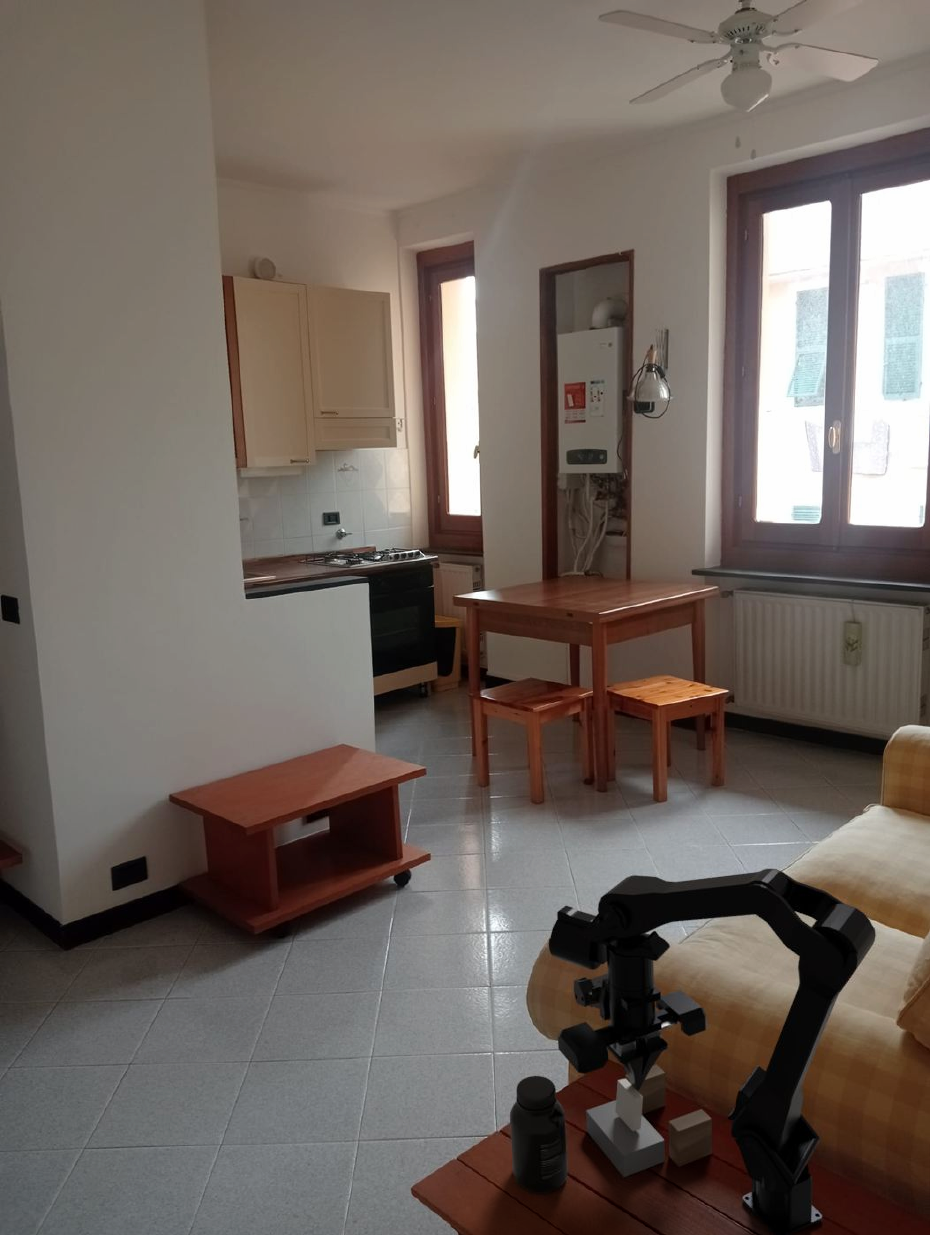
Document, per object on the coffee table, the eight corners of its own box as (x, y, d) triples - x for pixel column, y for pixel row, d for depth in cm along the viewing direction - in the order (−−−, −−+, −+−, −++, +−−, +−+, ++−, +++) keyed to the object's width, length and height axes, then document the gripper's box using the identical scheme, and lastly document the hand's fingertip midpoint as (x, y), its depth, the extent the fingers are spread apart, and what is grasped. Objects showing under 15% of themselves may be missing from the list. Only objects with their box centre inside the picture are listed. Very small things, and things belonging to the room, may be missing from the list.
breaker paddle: (640, 1128, 120) (643, 1096, 119) (632, 1131, 120) (634, 1098, 119) (623, 1109, 124) (625, 1078, 123) (615, 1111, 123) (617, 1080, 123)
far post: (665, 1105, 129) (664, 1072, 128) (634, 1117, 127) (633, 1083, 126) (656, 1096, 131) (656, 1064, 130) (625, 1108, 129) (625, 1074, 128)
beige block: (711, 1153, 120) (711, 1118, 119) (678, 1167, 118) (678, 1131, 117) (701, 1143, 122) (701, 1108, 121) (669, 1156, 120) (668, 1121, 119)
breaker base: (664, 1161, 119) (664, 1139, 119) (623, 1177, 117) (623, 1155, 116) (625, 1116, 127) (625, 1096, 127) (586, 1130, 125) (586, 1110, 124)
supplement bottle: (567, 1155, 121) (564, 1070, 119) (568, 1196, 114) (565, 1107, 112) (513, 1153, 122) (510, 1069, 120) (511, 1194, 115) (507, 1106, 113)
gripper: (657, 929, 129) (660, 1032, 132) (534, 967, 122) (541, 1074, 125) (708, 969, 119) (710, 1080, 122) (577, 1013, 112) (583, 1129, 115)
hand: (635, 1088), depth 121 cm, fingers closed, pressing on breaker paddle
